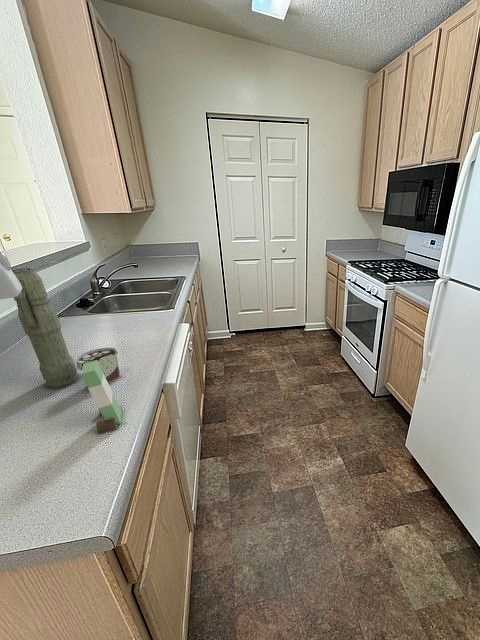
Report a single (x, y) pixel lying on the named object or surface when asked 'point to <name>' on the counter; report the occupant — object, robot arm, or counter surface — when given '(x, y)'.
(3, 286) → the robot arm
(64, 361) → the moai statue
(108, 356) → the cake slice
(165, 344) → the counter surface
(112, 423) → the stand
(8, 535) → the counter surface
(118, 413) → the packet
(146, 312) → the counter surface
